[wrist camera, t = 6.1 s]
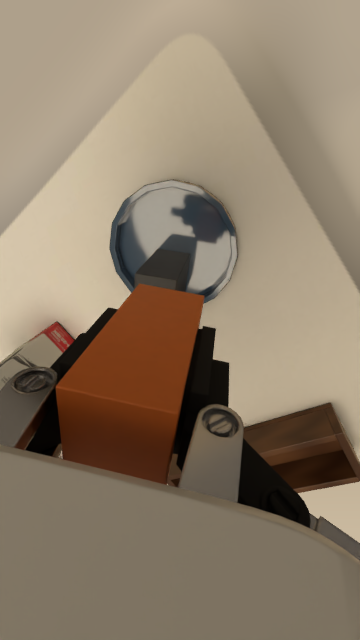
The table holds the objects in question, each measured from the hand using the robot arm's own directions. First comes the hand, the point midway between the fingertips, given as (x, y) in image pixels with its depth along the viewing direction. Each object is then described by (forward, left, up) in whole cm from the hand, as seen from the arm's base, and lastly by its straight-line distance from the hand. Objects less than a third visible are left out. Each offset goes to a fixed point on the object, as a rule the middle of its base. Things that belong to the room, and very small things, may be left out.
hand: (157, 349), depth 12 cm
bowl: (+1, -2, -16) cm, 16 cm away
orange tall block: (0, 0, -2) cm, 2 cm away
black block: (+3, -1, -16) cm, 16 cm away
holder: (+16, +21, -16) cm, 31 cm away
